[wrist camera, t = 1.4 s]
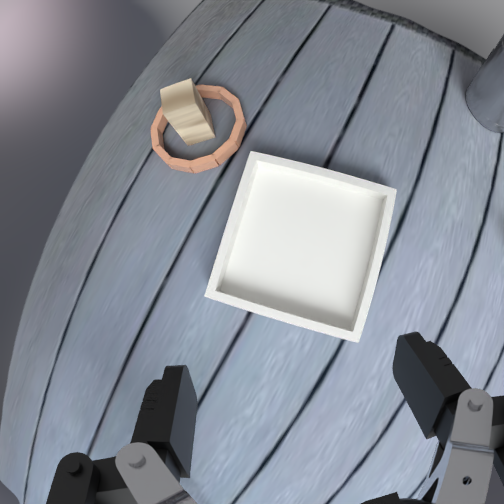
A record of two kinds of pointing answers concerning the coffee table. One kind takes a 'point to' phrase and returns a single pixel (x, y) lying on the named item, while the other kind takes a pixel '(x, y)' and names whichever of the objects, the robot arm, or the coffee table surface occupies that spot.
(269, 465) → the coffee table surface
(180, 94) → the birch block
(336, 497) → the coffee table surface
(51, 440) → the coffee table surface
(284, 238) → the tray
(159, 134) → the orange ring
